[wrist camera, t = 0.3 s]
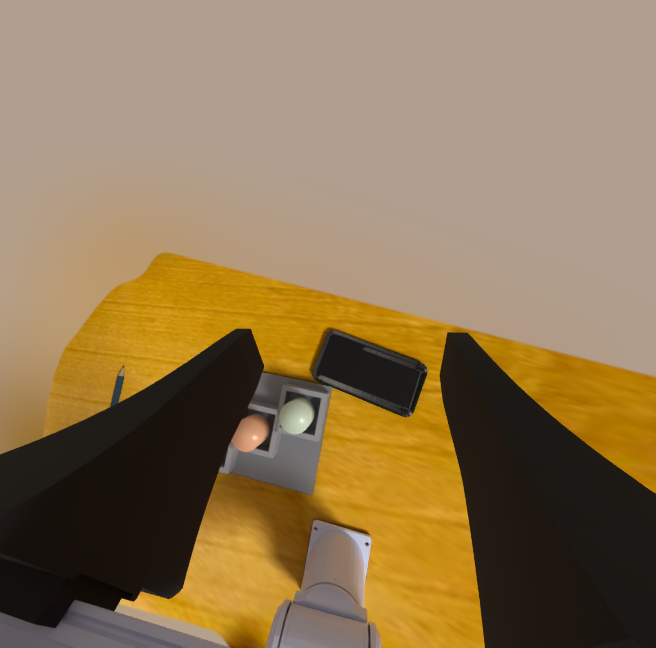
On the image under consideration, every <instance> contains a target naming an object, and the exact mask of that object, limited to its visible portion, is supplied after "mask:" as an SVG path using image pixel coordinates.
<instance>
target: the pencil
mask: <svg viewBox="0 0 656 648" xmlns="http://www.w3.org/2000/svg"><path fill="white" fill-rule="evenodd" d="M123 380H124V366H123V367H122V369H121V371H120V373H119V374H118V377H117V381H116V385H115V389H114V394H113V398H112V403H111V407H112V406H114V405H116V404H118V402H119V397H120V393H121V389H122V384H123Z"/></svg>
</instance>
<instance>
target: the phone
mask: <svg viewBox="0 0 656 648" xmlns="http://www.w3.org/2000/svg"><path fill="white" fill-rule="evenodd" d="M427 372H428V371H427V367H426V366H425V365H424V364H423V363H421V362H418V361H415V360H414V359H410V358H407V357H406V356H403V355H399V354H398V353H396V352H391V351H389V350H386V349H383V348H381V347H378V346H375V345H373V344H370V343H367V342H365V341H362V340H359V339H357V338H354V337H351V336H349V335H346V334H343V333H341V332H338V331H330V332H329V333H328V334H327V336H326V338H325V341H324V343H323V346H322V348H321V351H320V354H319V356H318V359H317V361H316V364H315V367H314V369H313V377H314V379H315V380H317V381H319V382H321V383H323V384H326V385H328V386H331V387H333V388H335V389H338V390H340V391H343V392H345V393H347V394H350V395H352V396H355V397H357V398H359V399H362V400H364V401H367V402H369V403H371V404H374V405H376V406H379V407H381V408H383V409H386V410H388V411H391V412H393V413H395V414H398V415H400V416H403V417H409V416H411V415H412V414H413V412H414V410H415V407H416V404H417V401H418V398H419V395H420V393H421V390H422V387H423V384H424V381H425V378H426V376H427Z"/></svg>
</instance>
